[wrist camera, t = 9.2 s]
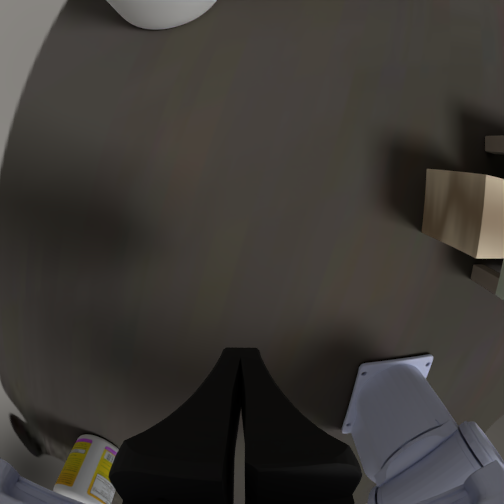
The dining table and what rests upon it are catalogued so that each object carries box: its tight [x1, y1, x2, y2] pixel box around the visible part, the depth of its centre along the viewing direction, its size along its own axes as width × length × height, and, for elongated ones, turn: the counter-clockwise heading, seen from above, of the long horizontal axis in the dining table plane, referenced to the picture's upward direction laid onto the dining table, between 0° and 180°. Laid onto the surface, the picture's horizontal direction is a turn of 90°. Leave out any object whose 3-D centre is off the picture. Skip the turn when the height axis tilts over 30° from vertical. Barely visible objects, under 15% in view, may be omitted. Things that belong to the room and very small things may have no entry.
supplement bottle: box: [53, 434, 119, 504], centre depth 22 cm, size 7×7×13 cm
